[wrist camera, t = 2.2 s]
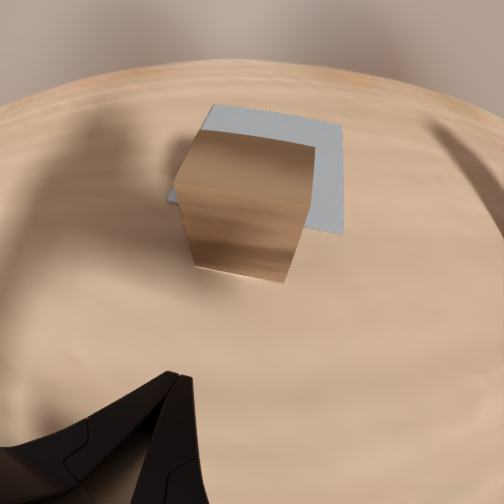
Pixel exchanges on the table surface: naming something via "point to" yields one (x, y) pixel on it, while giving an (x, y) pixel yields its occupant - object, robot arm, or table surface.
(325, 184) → the slate board
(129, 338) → the table surface
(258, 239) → the walnut block
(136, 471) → the robot arm
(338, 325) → the table surface
